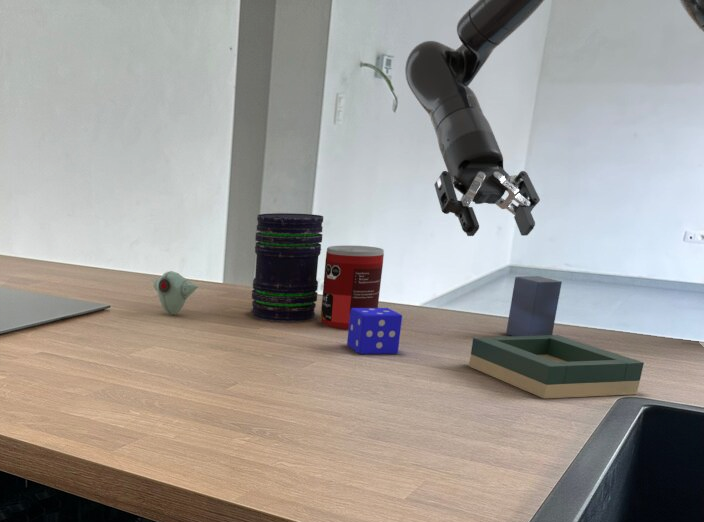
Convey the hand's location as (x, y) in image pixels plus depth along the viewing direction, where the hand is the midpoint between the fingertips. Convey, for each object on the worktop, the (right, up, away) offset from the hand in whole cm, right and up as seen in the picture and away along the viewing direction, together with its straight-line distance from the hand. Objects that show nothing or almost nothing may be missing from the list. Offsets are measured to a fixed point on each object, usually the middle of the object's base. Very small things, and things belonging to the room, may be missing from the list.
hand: (501, 232), depth 123 cm
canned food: (-21, -13, +3) cm, 25 cm away
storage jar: (-29, -11, +9) cm, 33 cm away
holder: (-7, -23, -26) cm, 36 cm away
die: (-23, -18, -12) cm, 32 cm away
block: (+1, -16, -5) cm, 16 cm away
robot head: (-47, -11, +10) cm, 49 cm away
